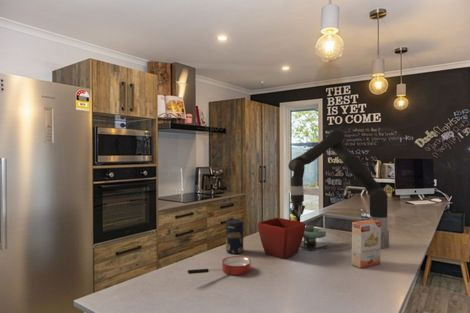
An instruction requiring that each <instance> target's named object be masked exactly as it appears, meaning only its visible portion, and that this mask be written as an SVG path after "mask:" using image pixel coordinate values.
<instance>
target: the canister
mask: <svg viewBox="0 0 470 313" xmlns="http://www.w3.org/2000/svg"><path fill="white" fill-rule="evenodd" d="M225 251H226V252H227V253H230V254H240V253H243V251H244V222H243V221H242V220H241V219H235V218H234V219H229V220H228V219H227V220H226V222H225Z"/></svg>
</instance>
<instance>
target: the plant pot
mask: <svg viewBox="0 0 470 313" xmlns="http://www.w3.org/2000/svg"><path fill="white" fill-rule="evenodd" d="M306 223H307V222H304V221H303V222H302V221H300V222H299V221H293V220H291V219H287V218H282V217H281V218H280V217H274V218H270V219H267V220H263V221H258V222H257V230H258V234H259V238H260V242H261V245H262V248H263V250H264V251H263V252H264V253H265V254H266V255H269V256H272V257H276V258H279V259H283V260H286V259H289V258H290V257H293V256H295V255H297V254H299V251H300V249H301V248H300V245H301V242H302V241H303V240H304V237H303V235H304V231H305V227H306V225H307V224H306Z"/></svg>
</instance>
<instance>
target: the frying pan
mask: <svg viewBox="0 0 470 313" xmlns="http://www.w3.org/2000/svg"><path fill="white" fill-rule="evenodd" d="M221 262H222V263H221V267H220V268H199V269H198V268H197V269H188V270H187V274H189V275H192V274H193V275H194V274H204V273H211V272H221V271H222V272H223V273H224V274H226V275H229V276H237V277H238V276H244V275H247V274H249V273H250V272H251V264H252V263H251V259H249V258H248V257H245V256H241V255H240V256H238V255H237V256H236V255H235V256H228V257H225V258H223V259H222V261H221Z"/></svg>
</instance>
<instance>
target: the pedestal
mask: <svg viewBox="0 0 470 313" xmlns="http://www.w3.org/2000/svg"><path fill="white" fill-rule="evenodd" d="M327 247H328V244H327V243H323V242H319V241H317V238H304V237H303V239H302V242H301V245H300V248H299V249H303V250H306V251H309V252H315V251H317V250H321V249H325V248H327Z"/></svg>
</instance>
